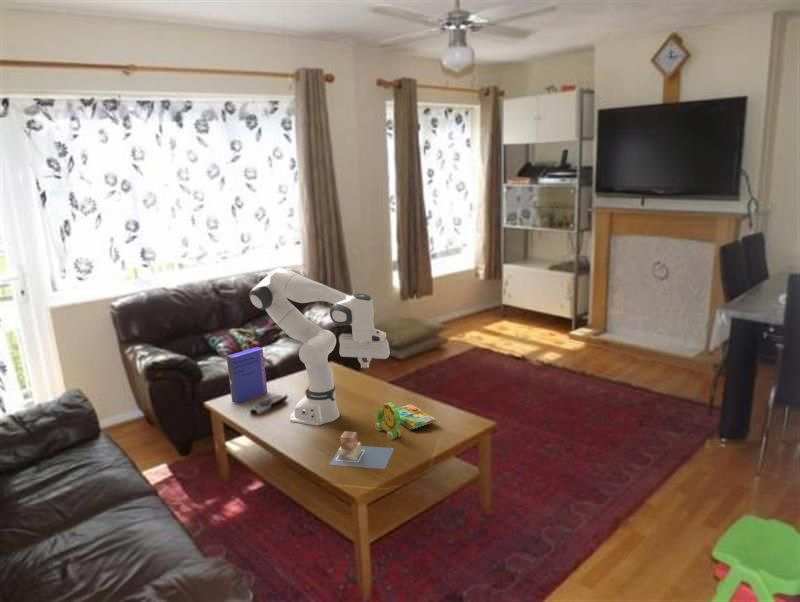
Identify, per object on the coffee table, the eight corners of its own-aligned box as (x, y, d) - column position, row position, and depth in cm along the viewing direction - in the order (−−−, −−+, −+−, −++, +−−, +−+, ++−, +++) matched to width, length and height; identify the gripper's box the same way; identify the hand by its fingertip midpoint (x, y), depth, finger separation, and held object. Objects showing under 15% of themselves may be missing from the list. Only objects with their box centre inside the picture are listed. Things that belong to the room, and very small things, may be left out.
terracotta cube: (341, 448, 221) (340, 437, 220) (345, 442, 226) (344, 431, 225) (353, 449, 220) (352, 438, 219) (357, 443, 225) (356, 432, 224)
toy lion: (374, 430, 246) (372, 397, 242) (384, 426, 249) (383, 394, 245) (393, 444, 233) (392, 410, 229) (404, 440, 236) (403, 406, 232)
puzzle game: (410, 402, 262) (435, 417, 246) (411, 411, 264) (436, 427, 247) (388, 408, 256) (413, 424, 240) (389, 418, 258) (413, 434, 241)
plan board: (329, 466, 218) (329, 464, 218) (342, 446, 233) (341, 444, 233) (385, 470, 213) (384, 468, 213) (394, 449, 229) (394, 447, 228)
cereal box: (262, 390, 296) (257, 346, 290) (267, 392, 293) (262, 348, 287) (231, 401, 284) (226, 355, 278) (237, 403, 281) (231, 357, 275)
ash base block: (338, 459, 222) (338, 449, 221) (344, 450, 228) (343, 441, 227) (356, 460, 220) (355, 451, 219) (361, 451, 227) (360, 442, 226)
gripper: (336, 335, 225) (337, 368, 229) (386, 338, 221) (387, 371, 224) (341, 331, 231) (343, 363, 235) (390, 333, 227) (391, 366, 230)
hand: (365, 367), depth 229 cm, fingers closed
